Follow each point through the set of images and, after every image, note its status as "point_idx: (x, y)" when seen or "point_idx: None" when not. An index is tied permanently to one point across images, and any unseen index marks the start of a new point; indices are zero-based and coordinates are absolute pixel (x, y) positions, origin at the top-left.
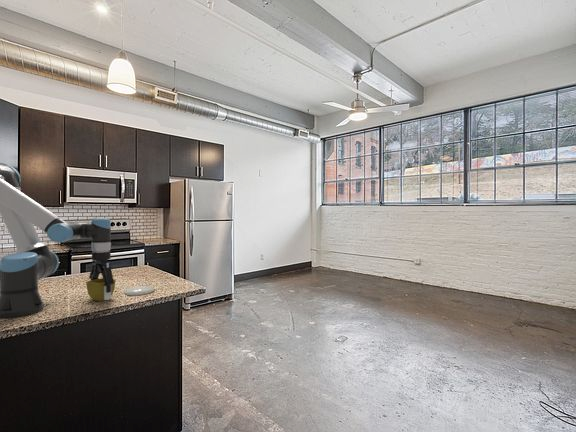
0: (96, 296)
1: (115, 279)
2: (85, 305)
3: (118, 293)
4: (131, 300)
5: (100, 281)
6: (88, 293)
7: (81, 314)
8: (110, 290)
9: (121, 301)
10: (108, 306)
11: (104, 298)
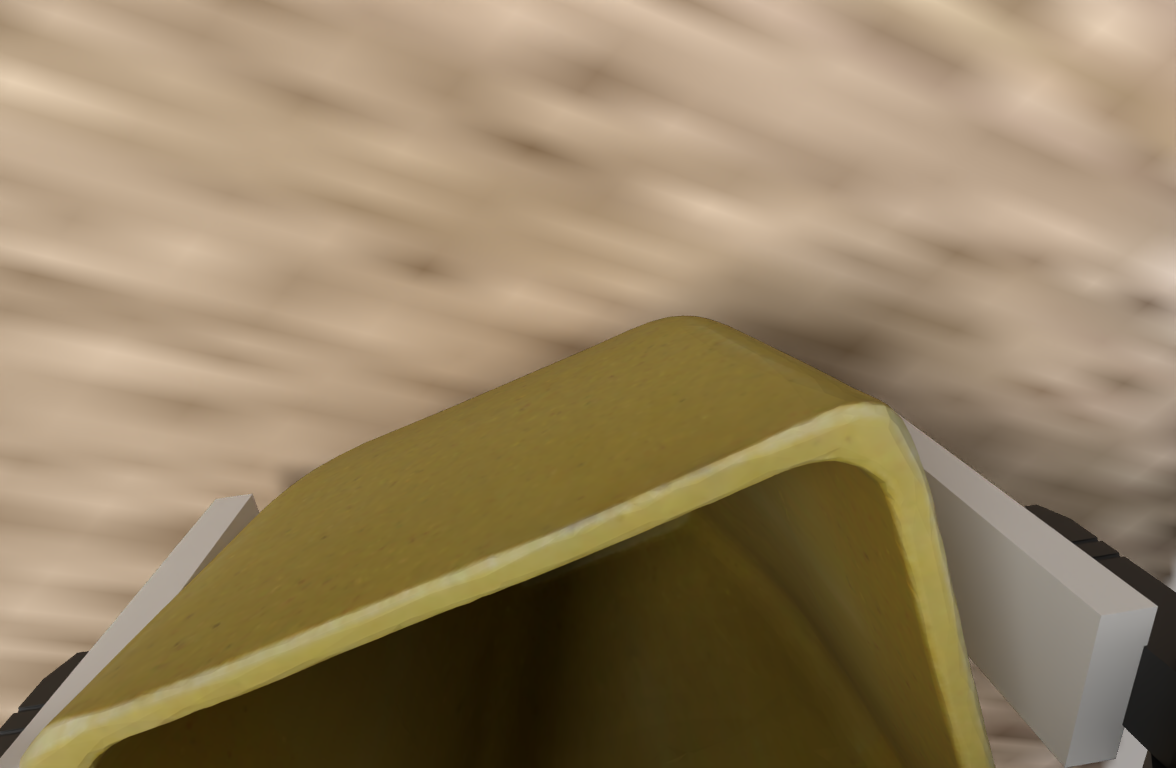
0: (692, 626)
1: (898, 420)
2: None
3: (236, 28)
4: (1109, 40)
5: (211, 727)
6: (507, 749)
7: (1096, 763)
8: (1080, 536)
9: (997, 232)
10: (1080, 482)
11: None
